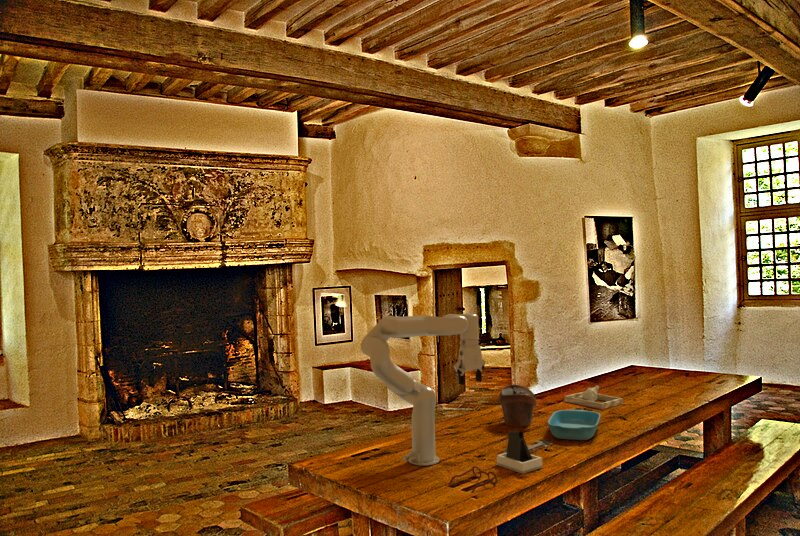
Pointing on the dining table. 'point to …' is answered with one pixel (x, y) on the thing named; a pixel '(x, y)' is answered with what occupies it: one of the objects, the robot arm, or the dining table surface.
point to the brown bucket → (517, 405)
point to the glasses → (478, 477)
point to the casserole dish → (574, 424)
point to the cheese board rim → (610, 402)
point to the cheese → (590, 394)
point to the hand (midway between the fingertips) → (470, 382)
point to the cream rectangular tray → (519, 463)
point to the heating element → (536, 445)
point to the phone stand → (517, 447)
